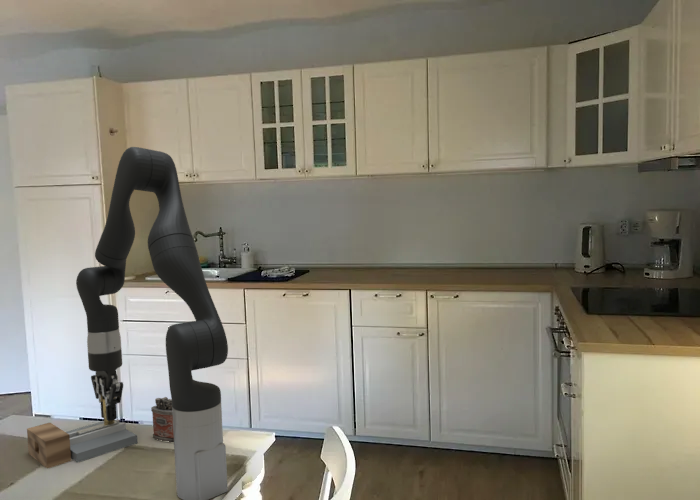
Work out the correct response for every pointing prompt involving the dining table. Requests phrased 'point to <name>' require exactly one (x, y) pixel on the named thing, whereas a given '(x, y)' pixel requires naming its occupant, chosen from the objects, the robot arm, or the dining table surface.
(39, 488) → the dining table surface
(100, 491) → the dining table surface
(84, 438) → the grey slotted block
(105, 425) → the bolt
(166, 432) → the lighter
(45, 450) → the jamb keeper
